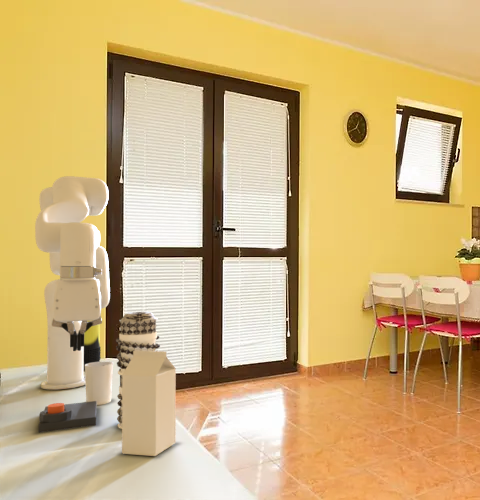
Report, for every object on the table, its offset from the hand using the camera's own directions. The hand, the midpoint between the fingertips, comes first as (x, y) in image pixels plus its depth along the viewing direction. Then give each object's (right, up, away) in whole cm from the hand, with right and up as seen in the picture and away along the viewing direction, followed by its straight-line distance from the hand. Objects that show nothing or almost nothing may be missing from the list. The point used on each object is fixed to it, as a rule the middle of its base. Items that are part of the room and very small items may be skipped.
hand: (77, 349), depth 123 cm
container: (-27, -17, +54) cm, 62 cm away
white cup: (0, -16, +10) cm, 19 cm away
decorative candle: (+18, -15, -8) cm, 25 cm away
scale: (+1, -15, -5) cm, 16 cm away
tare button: (0, -12, -10) cm, 15 cm away
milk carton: (+27, -15, -24) cm, 39 cm away
